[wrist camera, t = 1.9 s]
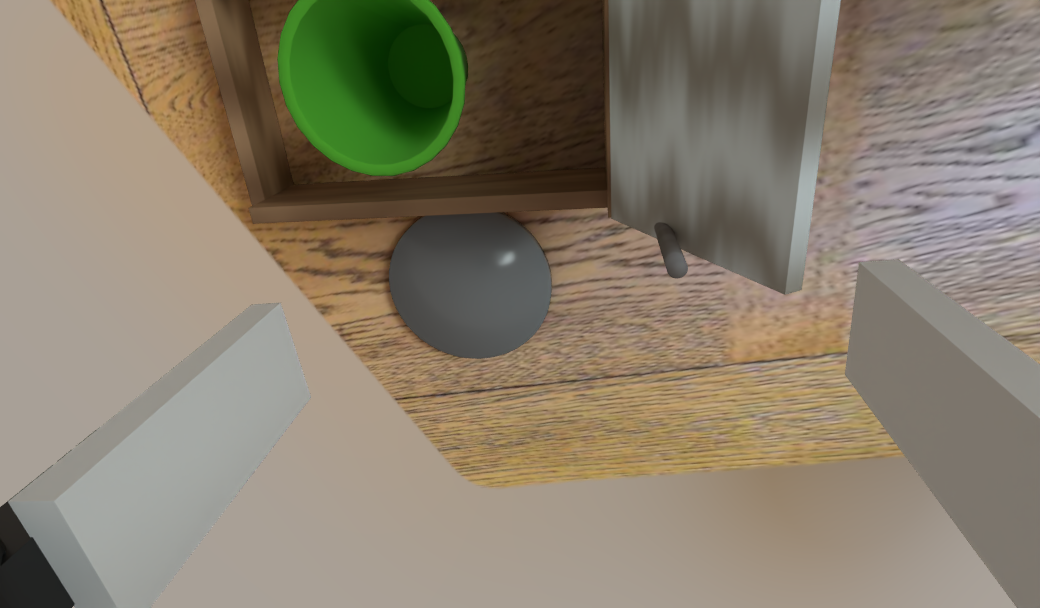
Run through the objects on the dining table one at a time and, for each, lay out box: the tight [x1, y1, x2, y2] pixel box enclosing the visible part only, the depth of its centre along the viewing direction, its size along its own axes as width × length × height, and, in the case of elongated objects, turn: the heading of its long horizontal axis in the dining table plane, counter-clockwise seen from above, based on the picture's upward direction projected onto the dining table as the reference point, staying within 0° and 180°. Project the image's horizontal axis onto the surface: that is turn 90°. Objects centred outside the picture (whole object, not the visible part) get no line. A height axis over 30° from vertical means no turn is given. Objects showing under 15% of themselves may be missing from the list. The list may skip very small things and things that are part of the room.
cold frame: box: [195, 0, 841, 295], centre depth 28 cm, size 16×30×19 cm, turn 95°
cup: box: [278, 0, 468, 176], centre depth 32 cm, size 9×9×11 cm
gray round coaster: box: [389, 212, 552, 359], centre depth 43 cm, size 12×12×1 cm
